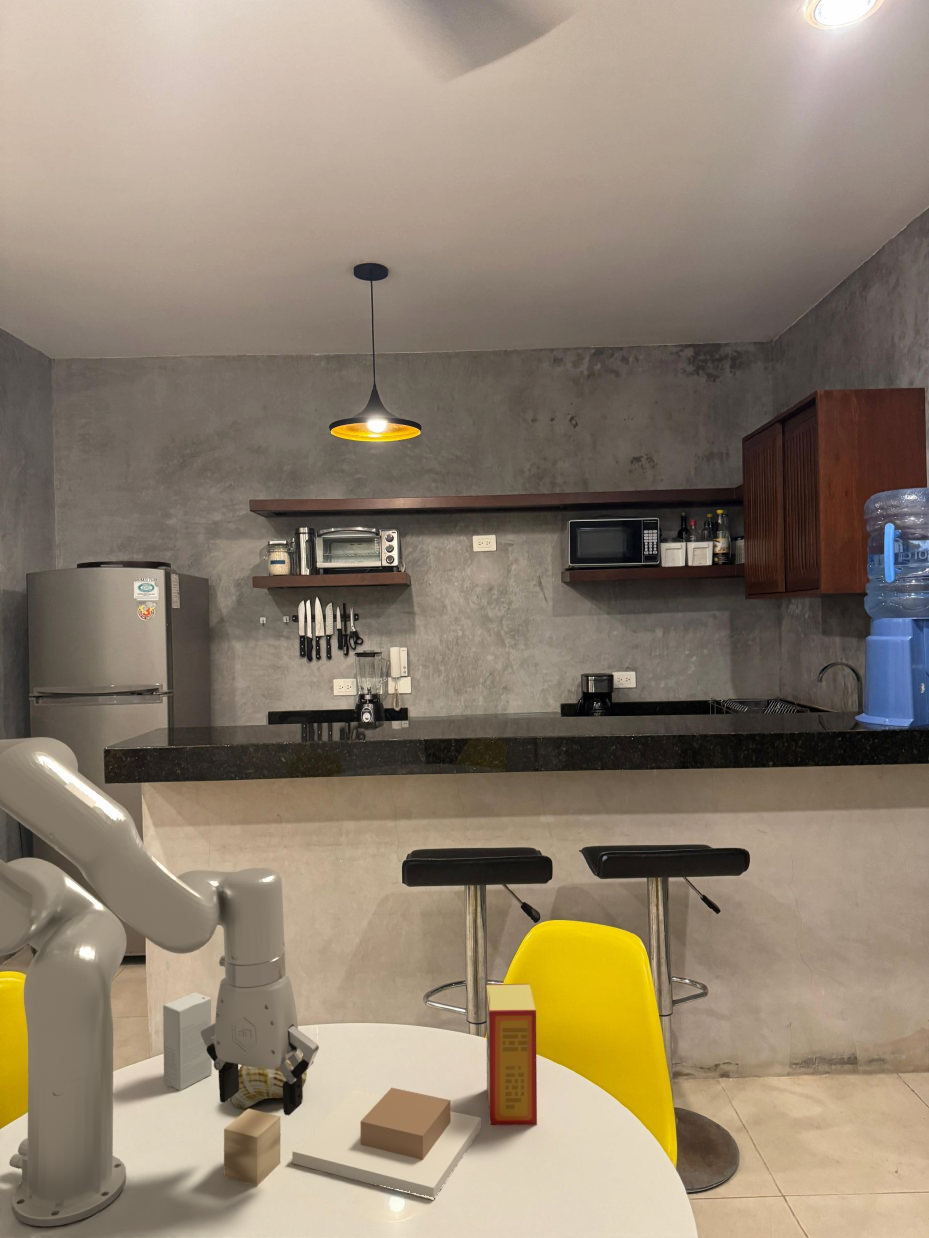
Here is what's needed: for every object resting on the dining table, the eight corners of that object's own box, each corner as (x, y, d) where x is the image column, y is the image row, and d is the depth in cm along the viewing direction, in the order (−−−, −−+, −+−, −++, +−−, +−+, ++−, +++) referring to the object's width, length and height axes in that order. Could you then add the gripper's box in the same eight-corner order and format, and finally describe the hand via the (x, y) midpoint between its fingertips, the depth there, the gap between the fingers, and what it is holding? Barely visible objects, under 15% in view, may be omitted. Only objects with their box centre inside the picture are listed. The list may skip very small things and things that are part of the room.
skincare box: (195, 1067, 133) (195, 990, 134) (212, 1075, 131) (212, 997, 131) (161, 1083, 128) (162, 1004, 129) (178, 1092, 126) (179, 1011, 126)
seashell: (213, 1103, 122) (234, 1027, 126) (255, 1105, 129) (273, 1034, 134) (267, 1117, 117) (286, 1038, 121) (308, 1119, 124) (324, 1044, 129)
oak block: (223, 1177, 106) (224, 1128, 106) (248, 1154, 110) (248, 1108, 111) (257, 1186, 104) (257, 1137, 104) (280, 1163, 109) (280, 1116, 109)
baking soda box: (486, 1089, 126) (486, 981, 127) (530, 1088, 126) (529, 981, 127) (490, 1125, 117) (489, 1008, 117) (536, 1124, 117) (536, 1008, 117)
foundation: (292, 1163, 109) (292, 1127, 109) (353, 1100, 123) (353, 1069, 123) (433, 1200, 101) (433, 1162, 101) (481, 1129, 116) (480, 1095, 116)
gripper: (181, 972, 108) (186, 1107, 107) (296, 988, 101) (302, 1131, 101) (219, 951, 115) (224, 1078, 114) (328, 964, 108) (334, 1098, 108)
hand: (260, 1102), depth 108 cm, fingers open, 9 cm apart
